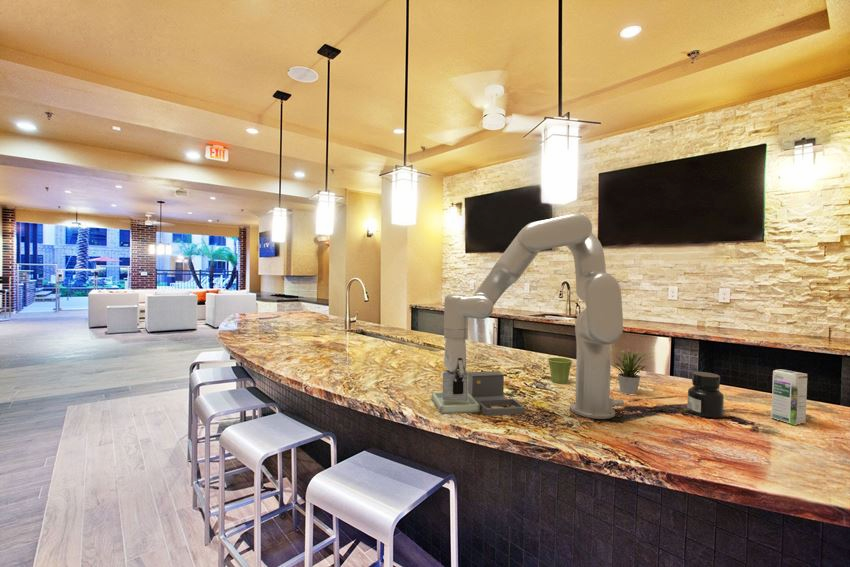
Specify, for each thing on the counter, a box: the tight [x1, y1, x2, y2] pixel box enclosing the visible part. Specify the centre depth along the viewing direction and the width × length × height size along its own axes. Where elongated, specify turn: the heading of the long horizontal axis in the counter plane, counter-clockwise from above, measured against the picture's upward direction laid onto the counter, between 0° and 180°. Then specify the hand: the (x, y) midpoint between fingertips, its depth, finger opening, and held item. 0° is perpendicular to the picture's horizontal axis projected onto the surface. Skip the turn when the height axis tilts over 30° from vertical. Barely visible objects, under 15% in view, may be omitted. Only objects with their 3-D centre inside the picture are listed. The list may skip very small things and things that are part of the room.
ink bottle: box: [686, 371, 725, 419], centre depth 118 cm, size 10×9×12 cm
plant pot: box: [547, 357, 573, 384], centre depth 151 cm, size 9×9×9 cm
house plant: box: [612, 347, 653, 395], centre depth 137 cm, size 14×14×16 cm
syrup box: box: [770, 368, 808, 426], centre depth 112 cm, size 6×6×14 cm
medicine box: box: [442, 369, 469, 401], centre depth 122 cm, size 8×4×9 cm, turn 85°
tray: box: [431, 391, 481, 415], centre depth 122 cm, size 12×14×2 cm
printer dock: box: [467, 370, 526, 417], centre depth 124 cm, size 13×21×8 cm, turn 10°
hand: (455, 390), depth 122 cm, fingers closed on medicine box, 5 cm apart
